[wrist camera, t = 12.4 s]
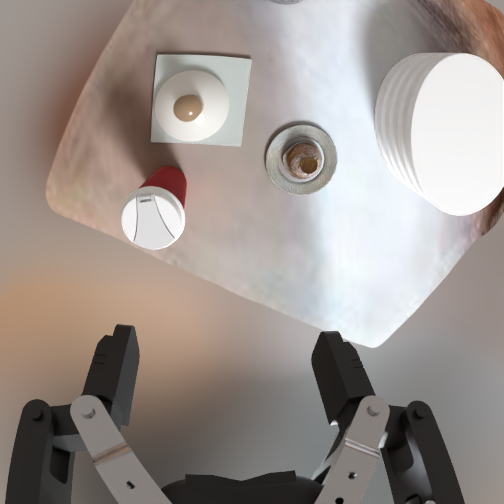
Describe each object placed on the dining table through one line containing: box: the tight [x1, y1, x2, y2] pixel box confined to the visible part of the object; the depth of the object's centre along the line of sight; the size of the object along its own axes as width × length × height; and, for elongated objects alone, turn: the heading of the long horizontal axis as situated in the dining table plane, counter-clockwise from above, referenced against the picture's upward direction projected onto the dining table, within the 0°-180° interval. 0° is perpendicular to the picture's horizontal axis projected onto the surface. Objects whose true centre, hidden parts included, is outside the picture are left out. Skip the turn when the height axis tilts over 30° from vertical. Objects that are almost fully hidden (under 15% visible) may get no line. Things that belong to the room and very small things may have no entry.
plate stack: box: [374, 53, 504, 215], centre depth 40 cm, size 28×28×12 cm
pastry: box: [266, 125, 337, 195], centre depth 45 cm, size 12×12×5 cm
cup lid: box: [155, 70, 229, 141], centre depth 37 cm, size 11×11×7 cm
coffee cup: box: [121, 166, 187, 250], centre depth 40 cm, size 8×8×15 cm
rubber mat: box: [151, 55, 252, 147], centre depth 40 cm, size 14×14×1 cm
